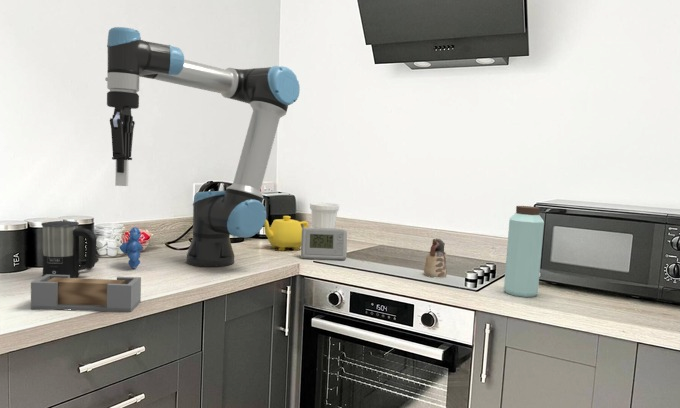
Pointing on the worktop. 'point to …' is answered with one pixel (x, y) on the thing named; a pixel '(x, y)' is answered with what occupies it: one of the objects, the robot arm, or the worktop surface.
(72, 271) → the milk frother
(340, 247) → the digital clock
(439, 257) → the figurine
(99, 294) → the slat
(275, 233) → the teapot
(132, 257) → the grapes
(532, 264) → the water bottle
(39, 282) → the rail
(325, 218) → the cup
